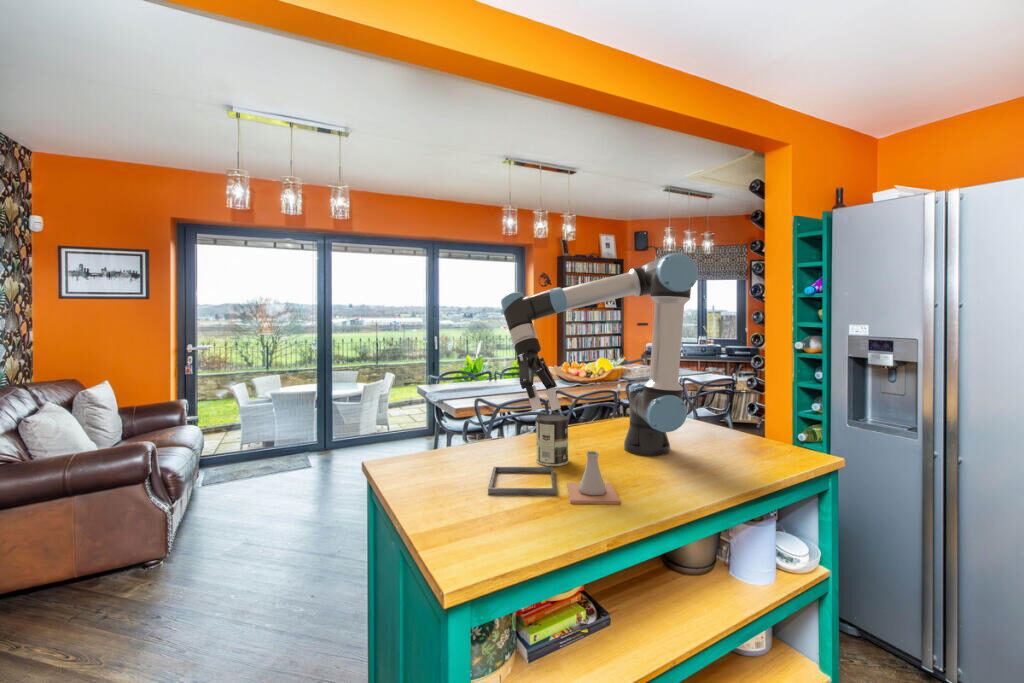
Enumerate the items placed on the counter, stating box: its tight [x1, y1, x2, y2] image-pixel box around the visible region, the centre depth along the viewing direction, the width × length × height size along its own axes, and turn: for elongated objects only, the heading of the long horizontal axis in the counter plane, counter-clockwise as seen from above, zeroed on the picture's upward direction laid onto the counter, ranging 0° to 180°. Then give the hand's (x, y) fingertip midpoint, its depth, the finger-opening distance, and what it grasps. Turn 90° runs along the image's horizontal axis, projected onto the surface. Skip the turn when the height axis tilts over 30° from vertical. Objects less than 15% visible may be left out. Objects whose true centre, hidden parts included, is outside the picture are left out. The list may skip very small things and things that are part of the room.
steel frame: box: [487, 466, 557, 496], centre depth 126 cm, size 18×18×2 cm
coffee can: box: [535, 413, 569, 467], centre depth 144 cm, size 10×10×14 cm
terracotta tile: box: [566, 482, 621, 505], centre depth 117 cm, size 12×12×1 cm
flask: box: [578, 450, 606, 495], centre depth 117 cm, size 7×7×10 cm
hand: (547, 409), depth 130 cm, fingers open, 13 cm apart
